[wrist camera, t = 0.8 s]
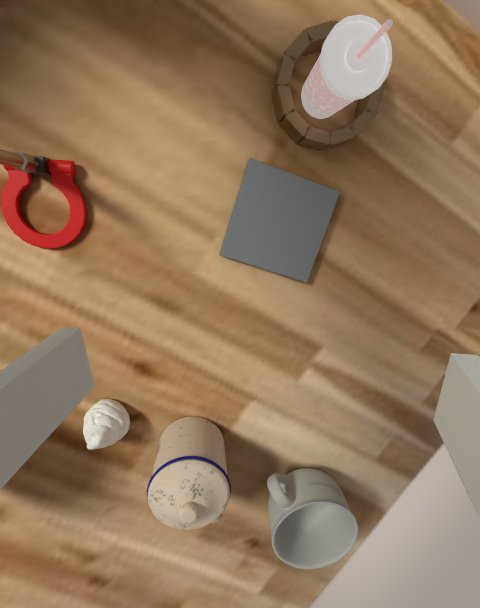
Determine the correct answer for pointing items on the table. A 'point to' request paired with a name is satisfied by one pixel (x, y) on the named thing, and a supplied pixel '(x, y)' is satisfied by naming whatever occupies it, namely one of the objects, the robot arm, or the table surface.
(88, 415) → the white meringue swirl
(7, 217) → the tow hook
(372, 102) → the stone block ring
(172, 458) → the teacup with lid
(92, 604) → the table surface
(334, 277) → the table surface
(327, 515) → the teacup
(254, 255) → the coaster
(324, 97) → the beverage cup
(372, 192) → the table surface
